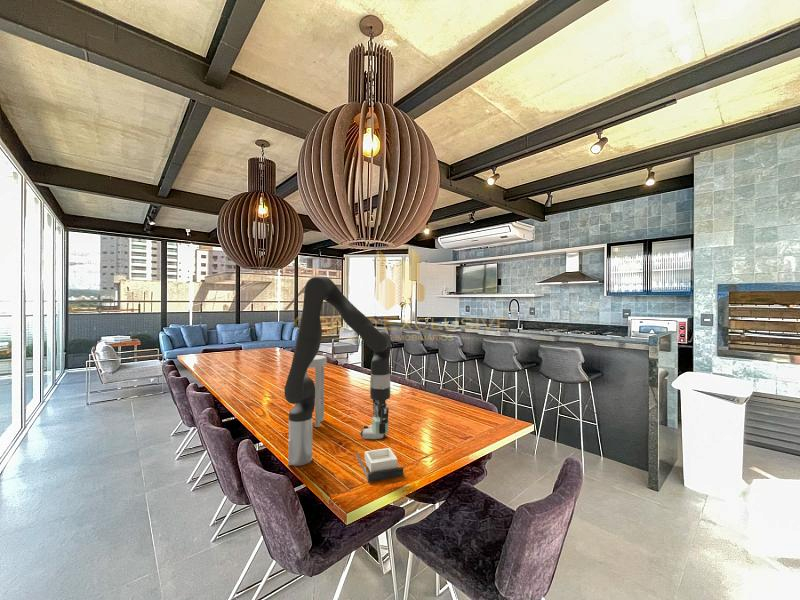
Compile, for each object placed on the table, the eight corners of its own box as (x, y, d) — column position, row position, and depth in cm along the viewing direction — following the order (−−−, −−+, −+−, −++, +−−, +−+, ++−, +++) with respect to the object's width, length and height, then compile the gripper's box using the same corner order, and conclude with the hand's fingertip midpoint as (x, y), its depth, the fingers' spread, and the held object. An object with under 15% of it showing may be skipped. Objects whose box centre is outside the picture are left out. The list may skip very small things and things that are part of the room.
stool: (291, 429, 168) (292, 359, 168) (300, 418, 183) (300, 355, 183) (322, 429, 168) (323, 359, 168) (328, 418, 184) (328, 354, 184)
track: (368, 485, 116) (368, 474, 116) (355, 458, 137) (355, 448, 137) (403, 479, 120) (403, 468, 120) (385, 453, 141) (385, 443, 141)
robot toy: (362, 432, 166) (358, 442, 151) (362, 423, 167) (359, 432, 152) (386, 432, 167) (385, 442, 152) (386, 423, 167) (385, 432, 152)
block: (375, 435, 122) (375, 421, 122) (372, 430, 127) (372, 417, 127) (388, 433, 124) (388, 419, 124) (384, 428, 129) (384, 415, 129)
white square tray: (371, 478, 118) (371, 463, 118) (364, 465, 128) (364, 451, 128) (397, 474, 122) (397, 459, 122) (389, 461, 131) (389, 447, 131)
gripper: (366, 382, 131) (366, 425, 131) (375, 391, 118) (375, 439, 117) (384, 380, 134) (384, 423, 133) (395, 389, 120) (395, 436, 120)
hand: (380, 430), depth 125 cm, fingers closed on block, 5 cm apart
